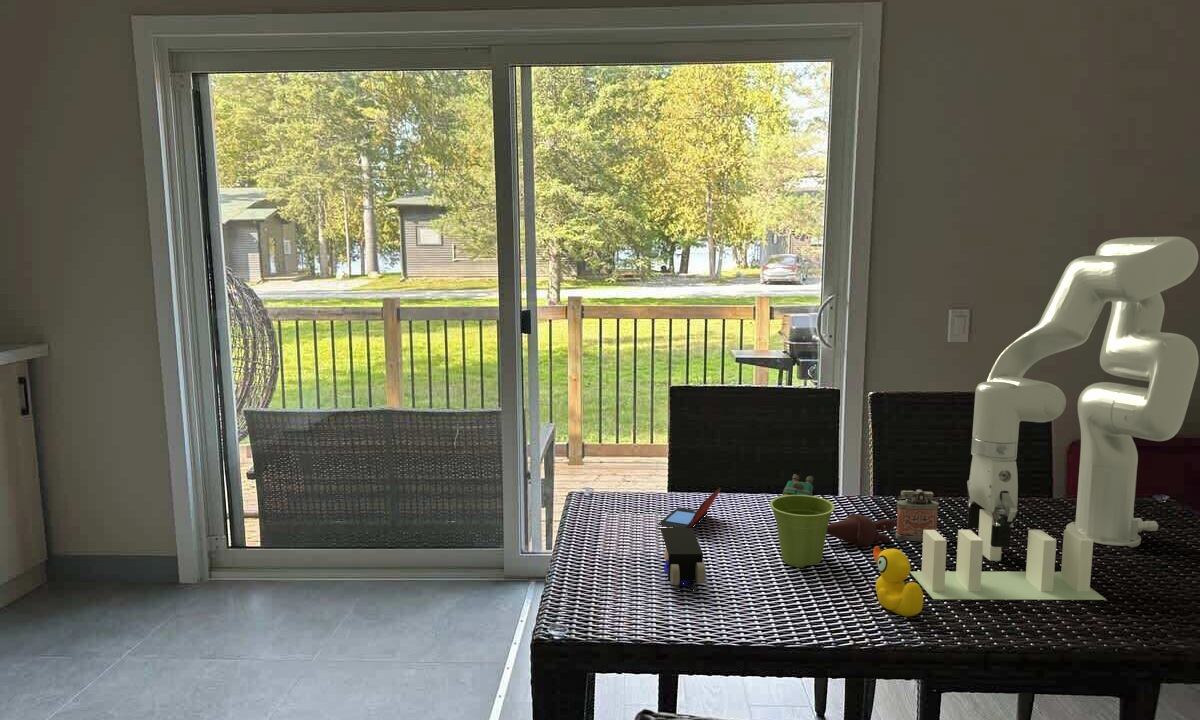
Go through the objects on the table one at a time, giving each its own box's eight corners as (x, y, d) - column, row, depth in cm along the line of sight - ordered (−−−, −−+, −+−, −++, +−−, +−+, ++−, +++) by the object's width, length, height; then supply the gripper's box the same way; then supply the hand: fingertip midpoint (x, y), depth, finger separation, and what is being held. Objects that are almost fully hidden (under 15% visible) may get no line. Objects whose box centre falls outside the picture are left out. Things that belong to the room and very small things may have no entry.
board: (1068, 575, 134) (1068, 571, 134) (1106, 604, 124) (1106, 599, 123) (909, 575, 136) (909, 571, 136) (933, 603, 125) (933, 598, 125)
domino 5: (1072, 578, 131) (1075, 529, 130) (1089, 591, 126) (1093, 540, 125) (1060, 578, 131) (1064, 529, 130) (1077, 591, 127) (1081, 540, 125)
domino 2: (967, 578, 132) (969, 529, 131) (980, 591, 127) (983, 540, 126) (955, 578, 132) (958, 529, 131) (968, 591, 127) (970, 540, 126)
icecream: (827, 524, 144) (904, 529, 145) (816, 503, 151) (889, 507, 152) (820, 554, 147) (896, 558, 147) (810, 532, 154) (882, 536, 154)
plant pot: (772, 546, 151) (773, 492, 149) (834, 553, 147) (836, 497, 145) (765, 569, 140) (766, 511, 138) (831, 577, 136) (833, 517, 134)
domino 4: (1037, 578, 132) (1040, 529, 130) (1052, 591, 127) (1056, 540, 125) (1025, 578, 132) (1028, 529, 131) (1040, 591, 127) (1044, 540, 126)
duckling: (859, 597, 128) (861, 541, 126) (887, 593, 129) (889, 537, 128) (902, 628, 117) (904, 567, 115) (931, 623, 118) (934, 563, 117)
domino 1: (932, 578, 133) (934, 529, 131) (944, 591, 128) (946, 540, 126) (921, 578, 133) (923, 529, 131) (932, 591, 128) (934, 540, 126)
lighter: (933, 535, 155) (936, 488, 154) (939, 541, 152) (941, 493, 150) (893, 534, 156) (895, 487, 154) (898, 540, 152) (900, 492, 151)
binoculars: (777, 525, 168) (770, 497, 162) (788, 495, 173) (781, 466, 168) (818, 532, 163) (812, 503, 157) (828, 501, 169) (822, 472, 163)
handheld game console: (677, 511, 173) (676, 480, 172) (722, 518, 168) (722, 486, 167) (655, 529, 162) (655, 496, 161) (703, 537, 157) (703, 503, 156)
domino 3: (988, 554, 145) (990, 509, 144) (1000, 564, 140) (1003, 518, 139) (977, 554, 145) (979, 509, 144) (989, 564, 140) (992, 518, 139)
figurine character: (709, 603, 130) (692, 559, 144) (710, 564, 128) (693, 523, 142) (670, 605, 129) (657, 561, 144) (670, 565, 127) (658, 524, 142)
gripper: (1039, 460, 131) (1031, 555, 133) (992, 437, 148) (986, 521, 150) (995, 460, 131) (988, 554, 133) (953, 437, 148) (948, 520, 150)
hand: (987, 536), depth 142 cm, fingers open, 9 cm apart
